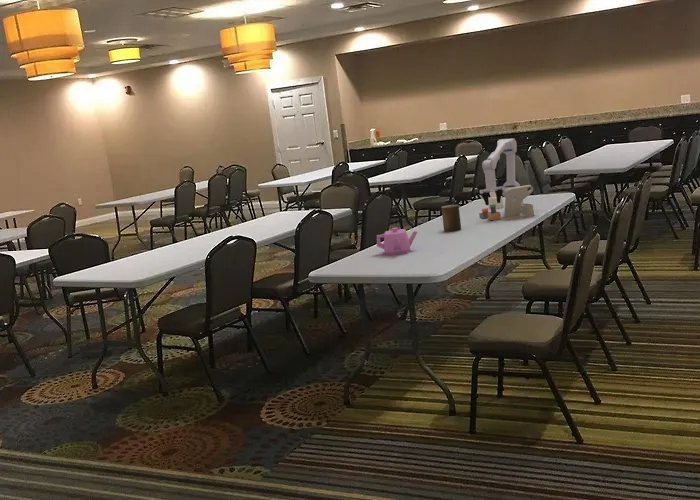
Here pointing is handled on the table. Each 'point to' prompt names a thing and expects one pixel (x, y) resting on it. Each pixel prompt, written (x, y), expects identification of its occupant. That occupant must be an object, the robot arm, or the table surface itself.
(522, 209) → the phone holder
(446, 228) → the pillar candle
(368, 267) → the table surface
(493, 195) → the medicine bottle
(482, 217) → the button base
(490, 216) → the pen cup
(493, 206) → the marker
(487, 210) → the button
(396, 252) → the teakettle
